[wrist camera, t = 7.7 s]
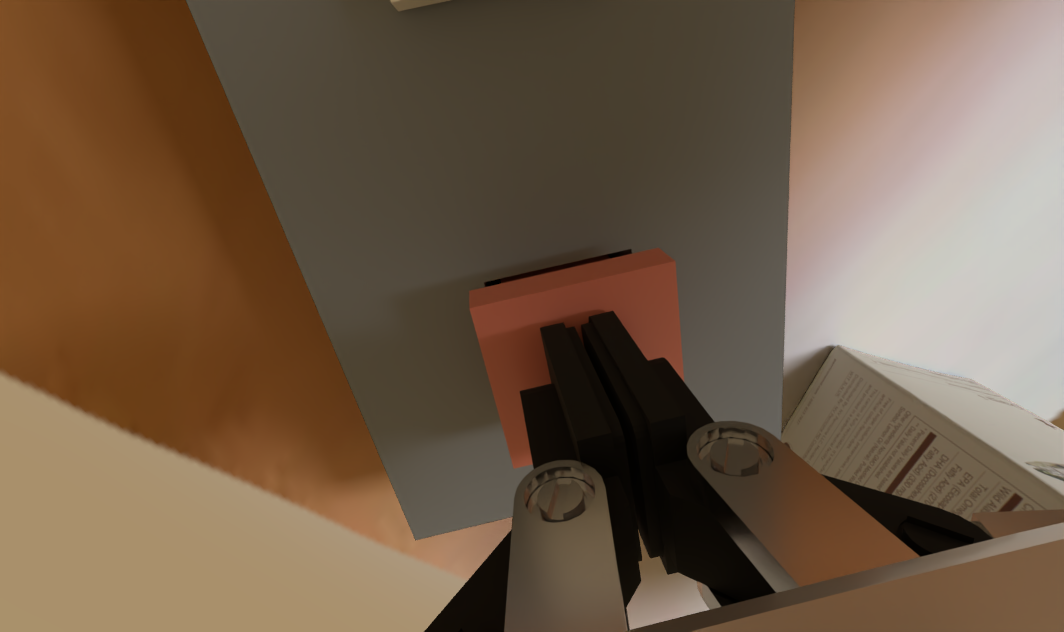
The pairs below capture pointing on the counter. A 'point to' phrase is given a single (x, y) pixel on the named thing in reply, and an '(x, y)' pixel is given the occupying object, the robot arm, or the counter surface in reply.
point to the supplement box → (926, 437)
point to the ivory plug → (413, 3)
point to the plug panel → (514, 193)
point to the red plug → (570, 322)
